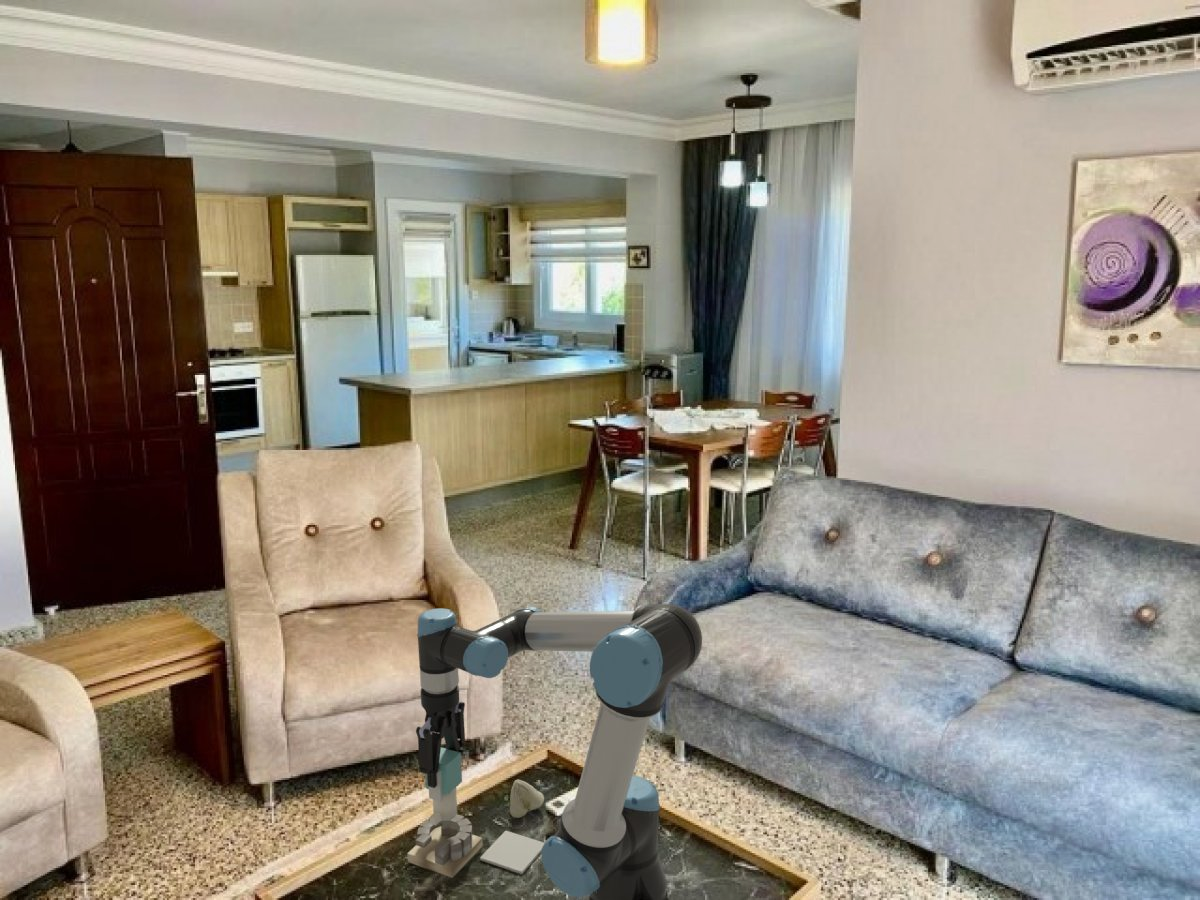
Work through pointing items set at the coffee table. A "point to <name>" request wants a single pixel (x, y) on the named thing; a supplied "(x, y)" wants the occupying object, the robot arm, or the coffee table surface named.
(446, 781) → the plug
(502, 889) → the coffee table surface
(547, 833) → the coffee table surface
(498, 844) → the mat
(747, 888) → the coffee table surface
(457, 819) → the socket
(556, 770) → the coffee table surface
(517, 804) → the seashell
